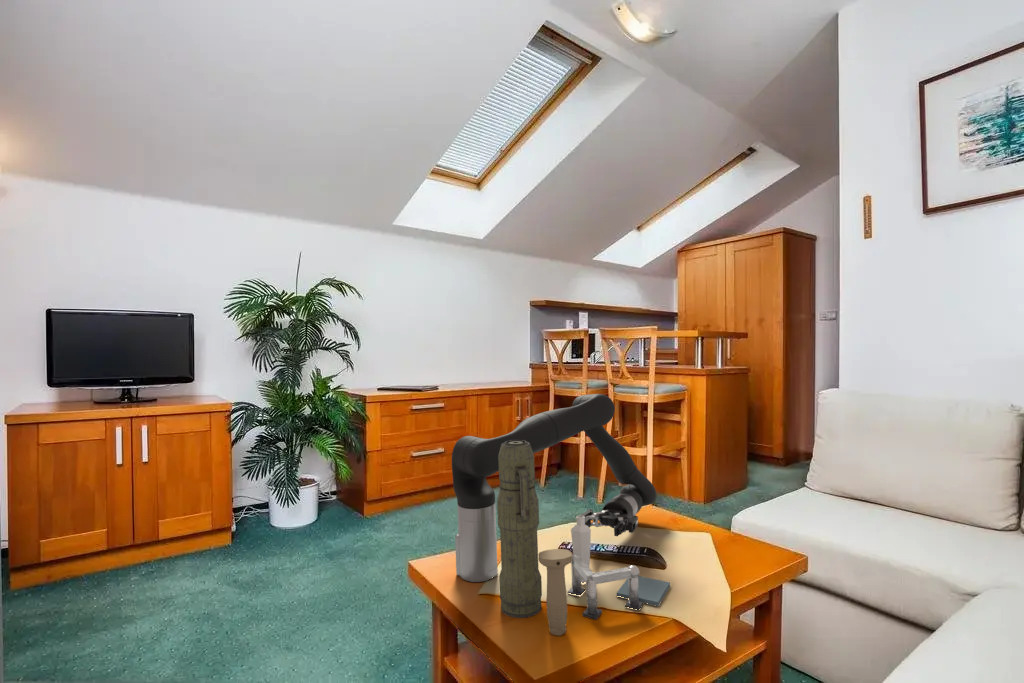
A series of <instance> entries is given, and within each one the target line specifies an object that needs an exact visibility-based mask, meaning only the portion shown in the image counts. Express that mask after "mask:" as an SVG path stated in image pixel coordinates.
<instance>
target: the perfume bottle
mask: <svg viewBox="0 0 1024 683" xmlns="http://www.w3.org/2000/svg"><path fill="white" fill-rule="evenodd" d="M575 518H576V524H575V525H574V526H573V527H571V528H570V533H571V535H570V536H571V543H572V555H573V554H578V555H579V556H580V557H581V559H582V560H583V562H584V563H585V564H586V565H587V566H588V567H589V569H590V568H591V567H590V562H591V536H592V534H591V532H592V530H591V527H590V528H589V527H588V526H587V525H585V516H583V515H581V514H580V515H579V514H578V515H576V516H575ZM581 582H582V583H584V582H586V581H585V580H584V578H583V577H582V576H581Z"/></svg>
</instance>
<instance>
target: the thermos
mask: <svg viewBox="0 0 1024 683" xmlns="http://www.w3.org/2000/svg"><path fill="white" fill-rule="evenodd" d="M534 454H535V453H534ZM534 454H533V451H532V448H531V446H530V443H528V442H526V441H524V440H510V441H506V442H505V443H503V444H502V445H501V448H500V452H499V456H498V460H499V471H498V480H499V483H500V484H499V490H498V495H497V498H496V509H497V510H496V511H497V512H496V514H497V527H498V528H499V533H500V535H499V536H500V559H501V560H500V564H501V566H500V567H501V570H500V573H499V575H498V578H499V581H498V582H499V598H500V610H501V612H502V613H503V614H504V615H505V616H507V617H510V618H513V619H514V618H517V619H523V618H524V619H526V618H531V617H534V616H535V615H537V614H539V613H540V612H541V610H542V606H543V605H542V597H543V587H542V585H543V584H542V583H543V582H542V574H541V572H540V569H539V549H538V548H539V546H538V545H539V544H538V543H539V542H538V528H539V525H540V510H539V508H540V505H539V504H540V503H539V497H538V495H537V492H536V484H535V478H536V476H535V471H536V470H535V455H534Z"/></svg>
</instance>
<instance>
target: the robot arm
mask: <svg viewBox="0 0 1024 683" xmlns="http://www.w3.org/2000/svg"><path fill="white" fill-rule="evenodd" d="M615 408H616V407H615V403H614V402H613V400H612V399H611V398H610V396H608V395H606V394H603V393H593V394H591V393H590V394H584V395H579V396H577V397H575V399H574V400H573V402H572V405H571V406H569V407H562V408H556V409H551V410H547V411H543V412H539V413H537V414H534V415H532V416H530V417H527V418H524V420H522V421H521V422H520V423H519V424H518V425H517V426H516V427H515V428H514V429H513V430H512V431H511V432H508V433H507V434H503V435H499V436H497V437H491V438H482V437H478V436H474V435H473V436H472V435H466V436H462V437H461V438H459V439H458V440H457V441H456V443H455V444H454V446H453V449H452V451H451V452H452V453H451V471H452V484H453V486H452V487H453V491H454V495H455V496H456V500H457V501H456V502H457V526H458V527H457V528H458V533H457V534H456V535H455V537H454V538H455V539H454V541H455V568H456V570H455V573H456V575H457V576H459V577H460V578H461V579H462V580H464V581H466V582H471V583H480V582H481V583H482V582H487V581H490V580H491V579H490V578H492V577H494V576H495V575H496V576H497V575H498V573H499V571H498V570H499V569H498V546H497V544H498V543H497V542H498V541H497V537H498V536H497V518H496V517H497V516H496V514H497V512H496V511H497V510H496V509H497V508H496V493H495V490H494V489H493V488H492V487H491V485H490V484H489V483H488V481H487V477H491V476H492V475H494V474H496V473H499V460H498V456H499V452H500V448H501V445H502V444H503V443H505V442H506V441H510V440H524V441H526V442H528V443H530V446H531V448H532V451H533V454H535V453H539V452H541V451H544V450H547V449H548V448H551V447H553V446H555V445H557V444H559V443H561V442H564V441H565V440H568V439H570V438H572V437H573V436H575V435H578V434H580V433H582V432H584V433H585V434H586V436H587V437H588V438H589V439H590V441H591V442H592V443H593V444H594V445H595V447H596V449H597V450H598V451H599V453H600V454H601V455H602V457H603V458H604V460H605V462H606V463H607V465H608V466H609V468H610V470H611V471H612V474H613V475H614V477H615V479H616V481H618V483H619V484H622V485H623V486H622V487H621V488H620V492H619V494H618V495H617V494H616V496H614V497H613V498H611V499H610V500H609V501H608V502H606V503H605V504H604V506H603V508H602V510H600V511H598V512H594V509H592V508H590V509H587V510H586V511H584V512H583V513H581V514H580V515H583V516H585V525H587V526H588V527H589V528H590V529H591V527H596V528H600V527H610V528H612V529H613V534H614V537H618V536H621V535H622V534H623V533H626V532H628V533H630V534H632V533H634V532H635V530H636V529H637V528H638V527H639V521H638V519H639V517H638V515H637V514H638V513H639V512H640V510H641V509H642V507H644V506H645V507H646V506H649V505H652V504H654V503H656V500H657V495H658V494H657V490H656V488H655V486H654V485H653V483H652V482H651V481H650V480H649V479H648V478H647V477H646V476H645V474H643V473H642V472H641V470H639V469H638V467H637V466H636V464H635V462H634V461H633V458H632V456H631V455H630V453H629V452H628V450H627V449H626V448H625V447H624V446H623V445H622V444H621V443H620V442H619V441H618V440H616V438H614V437H613V436H612V435H611V434H610V433H609V432H608V430H606V429H605V427H604V426H605V425H607V424H608V423H610V422H611V421H612V419H613V417H614V414H615V411H616V410H615ZM497 572H498V573H497ZM496 576H495V577H496ZM495 577H494V578H495ZM489 579H490V580H489ZM492 579H493V578H492Z"/></svg>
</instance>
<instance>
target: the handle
mask: <svg viewBox="0 0 1024 683" xmlns="http://www.w3.org/2000/svg"><path fill="white" fill-rule="evenodd" d="M572 555H573V552H571V551H570V550H569V549H563V548H562V549H561V548H552V549H546V550H542V551H539V552H538V563H539V564H541V565H542V566H544V567H546V601H545V602H546V604H545V605H546V615H547V621H548V628H549V632H550V634H551V635H555V636H557V637H561V636H562V635H564V634H566V632H567V621H568V620H567V619H568V597H567V595H568V594H567V588H566V587H567V586H566V577H565V576H566V575H565V567H566V566H567V565H569V564H571V561H572Z"/></svg>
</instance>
